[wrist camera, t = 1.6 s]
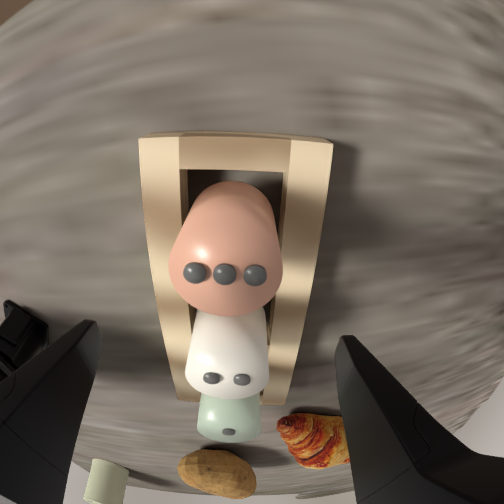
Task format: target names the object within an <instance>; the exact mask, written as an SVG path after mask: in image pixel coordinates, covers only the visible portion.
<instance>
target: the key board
mask: <svg viewBox="0 0 504 504" xmlns="http://www.w3.org/2000/svg"><path fill="white" fill-rule="evenodd" d="M332 152H333V144H332V143H331V142H329V141H328V140H326V139H324V138H318V137H309V136H298V135H286V134H271V133H252V132H210V131H203V132H161V133H150V134H148V135H145V136H143V137H141V138H139V158H140V174H141V187H142V199H143V209H144V219H145V228H146V236H147V244H148V252H149V259H150V266H151V272H152V279H153V285H154V291H155V297H156V302H157V308H158V313H159V318H160V323H161V328H162V333H163V338H164V343H165V347H166V352H167V356H168V361H169V365H170V369H171V373H172V377H173V381H174V385H175V389H176V393H177V397H178V400H182V401H192V402H200V398H201V392H199V391H198V390H196V389H195V388H193V387H192V386H191V385H190V384H189V382H188V381H187V379H186V376H185V368H186V363H187V358H188V353H189V348H190V343H191V338H192V333H193V328H194V323H195V318H196V312H195V307H193V306H191V305H190V304H189V303H187V302H186V301H185V300H184V299H183V298H182V297H181V296H180V295H179V294H178V292H177V291H176V289H175V288H174V286H173V284H172V282H171V279H170V275H169V270H168V262H169V256H170V252H171V250H172V248H173V246H174V243H175V241H176V239H177V237H178V235H179V233H180V230H181V228H182V226H183V224H184V222H185V220H186V218H187V216H188V214H189V202H188V169H218V170H250V171H271V172H283V184H282V195H281V207H280V218H279V229H278V241H279V247H280V252H281V258H282V264H283V276H282V281H281V284H280V287H279V289H278V291H277V292H276V294H275V295H274V296H273V298H272V299H271V307H270V316H269V325H266V331H267V348H268V365H269V381H268V383H267V385H266V387H265V388H264V389H263V390H262V391H260V405H285V403H286V399H287V395H288V391H289V387H290V383H291V379H292V375H293V371H294V367H295V362H296V358H297V354H298V350H299V345H300V341H301V336H302V332H303V327H304V322H305V318H306V313H307V308H308V303H309V298H310V293H311V288H312V283H313V277H314V272H315V266H316V261H317V255H318V249H319V243H320V237H321V231H322V225H323V219H324V212H325V205H326V199H327V191H328V184H329V177H330V169H331V161H332Z"/></svg>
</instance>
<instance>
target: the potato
mask: <svg viewBox="0 0 504 504" xmlns="http://www.w3.org/2000/svg"><path fill="white" fill-rule="evenodd" d="M177 469H178V473H179V476H180V477H181V478H182V479H183V481H184V482H185V483H187V484H188V485H190V486H192V487H195V488H197V489H200V490H202V491H205V492H208V493H211V494H214V495H218V496H223V497H227V498H232V499H243V498H246V497H249V496H251V495H252V494H253V493H254V492H255V489H256V475H255V474H254V472H253V470H252V468H251V466H250V465H249V463H247V462H246V461H244V460H242V459H241V458H239V457H238V456H236V455H234V454H233V453H231V452H229V451H226V450H206V449H201V450H197V451H195V452H193V453H191V454H188V455H186V456H185V457H183V458H182V459H181V460H180V462H179V464H178V467H177Z"/></svg>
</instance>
